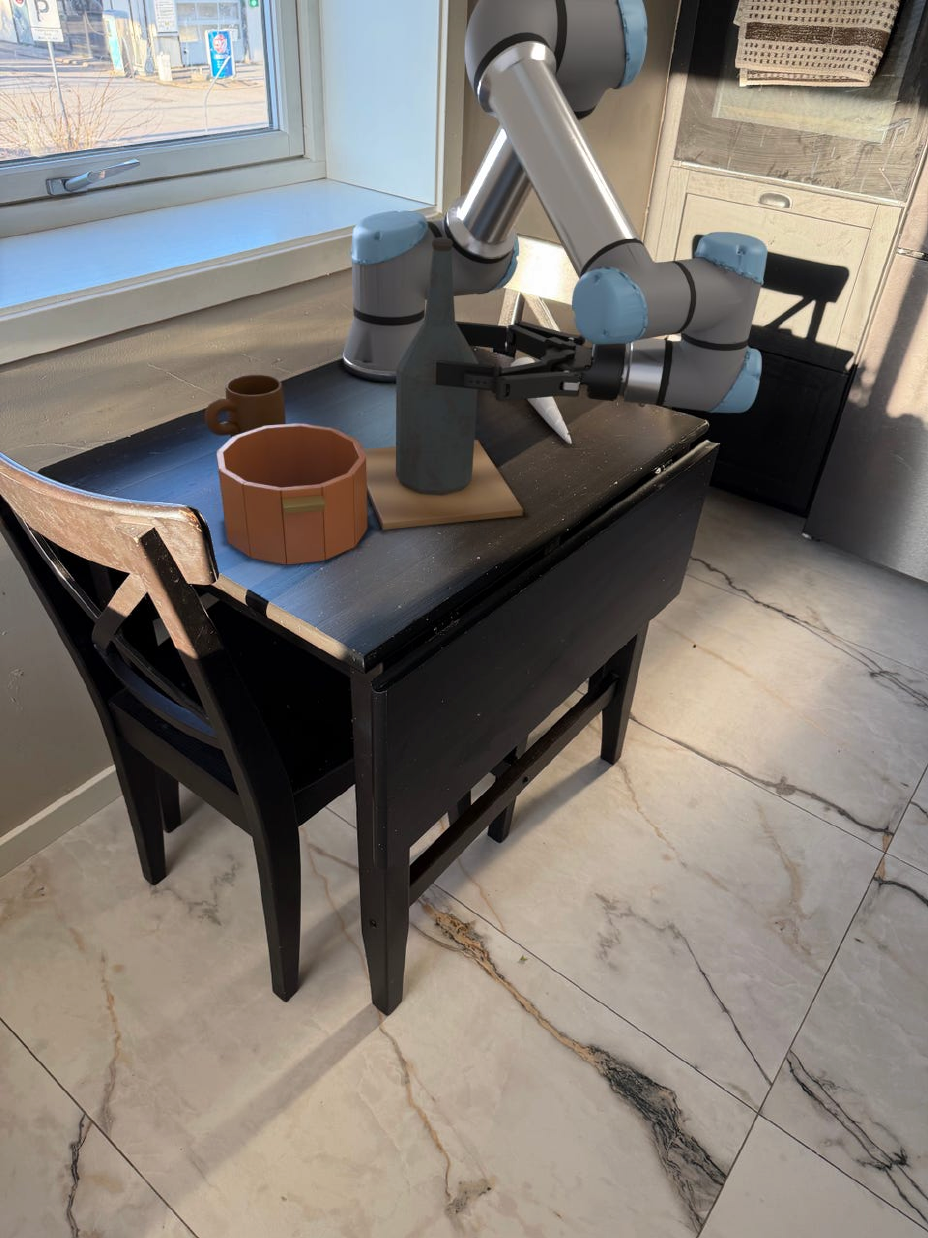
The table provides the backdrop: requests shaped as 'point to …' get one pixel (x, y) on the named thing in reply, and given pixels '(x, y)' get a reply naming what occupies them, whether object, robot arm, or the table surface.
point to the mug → (247, 405)
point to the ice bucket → (293, 492)
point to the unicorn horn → (547, 407)
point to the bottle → (435, 394)
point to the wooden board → (414, 509)
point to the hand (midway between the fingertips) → (445, 351)
